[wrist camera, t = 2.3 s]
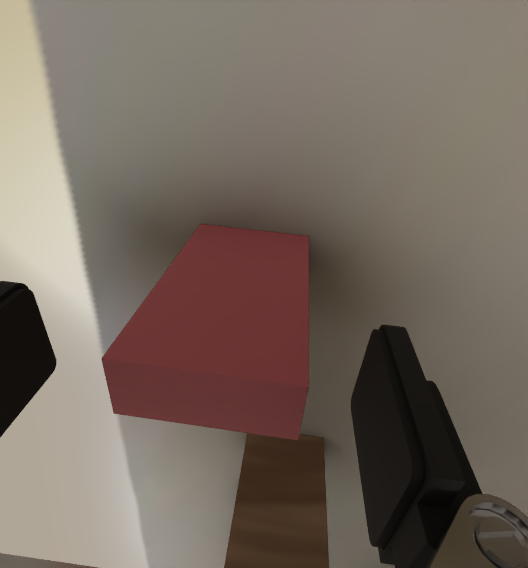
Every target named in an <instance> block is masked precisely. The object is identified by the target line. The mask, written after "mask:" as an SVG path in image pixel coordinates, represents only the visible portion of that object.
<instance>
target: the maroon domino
mask: <svg viewBox="0 0 528 568" xmlns="http://www.w3.org/2000/svg"><path fill="white" fill-rule="evenodd" d="M102 363H103V368H104V372H105V376H106V381H107V385H108V390H109V394H110V399H111V403H112V407H113V412H114V414H121V415H128V416H135V417H142V418H149V419H155V420H162V421H169V422H176V423H183V424H190V425H197V426H204V427H210V428H217V429H224V430H231V431H238V432H245V433H252V434H258V435H265V436H272V437H279V438H286V439H293V440H298V438H299V433H300V428H301V423H302V418H303V413H304V408H305V403H306V398H307V393H308V388H309V236H303V235H295V234H286V233H277V232H268V231H259V230H250V229H241V228H232V227H223V226H215V225H206V224H200V225H199V227H198V228H197V229H196V231H195V232H194V234H193V235H192V236H191V238H190V239H189V240H188V242H187V243H186V244H185V246H184V247H183V249H182V250H181V251H180V253H179V254H178V255H177V257H176V258H175V259H174V261H173V262H172V263H171V265H170V266H169V268H168V269H167V270H166V272H165V273H164V274H163V276H162V277H161V278H160V280H159V281H158V282H157V284H156V285H155V287H154V288H153V289H152V291H151V292H150V293H149V295H148V296H147V297H146V299H145V300H144V301H143V303H142V304H141V306H140V307H139V308H138V310H137V311H136V312H135V314H134V315H133V316H132V318H131V319H130V320H129V322H128V323H127V325H126V326H125V327H124V329H123V330H122V331H121V333H120V334H119V335H118V337H117V338H116V340H115V341H114V342H113V344H112V345H111V346H110V348H109V349H108V350H107V352H106V353H105V354H104V356H103V357H102Z"/></svg>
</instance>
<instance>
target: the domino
mask: <svg viewBox="0 0 528 568" xmlns="http://www.w3.org/2000/svg"><path fill="white" fill-rule="evenodd" d="M224 568H329V558H328V534H327V509H326V485H325V460H324V438H321V437H314V436H307V435H300V434H299V438H298V440H293V439H286V438H279V437H272V436H265V435H258V434H252V433H247V438H246V444H245V450H244V455H243V461H242V467H241V473H240V479H239V485H238V490H237V496H236V502H235V508H234V514H233V520H232V525H231V531H230V537H229V543H228V549H227V554H226V560H225V566H224Z"/></svg>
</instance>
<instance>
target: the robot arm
mask: <svg viewBox="0 0 528 568" xmlns="http://www.w3.org/2000/svg"><path fill="white" fill-rule="evenodd" d="M55 367H56V358H55V355H54V352H53V349H52V346H51V343H50V341H49V338H48V335H47V332H46V329H45V326H44V323H43V320H42V317H41V314H40V311H39V308H38V305H37V303H36V300H35V297H34V294H33V292H32V291H31V290H29V289H28V287H27V286H26V285H25V284H22V283H15V282H6V281H0V437H1V436H2V435H3V433H4V432H5V431H6V430H7V428H8V427H9V426H10V425H11V423H12V422H13V421H14V420H15V418H16V417H17V416H18V415H19V413H20V412H21V411H22V410H23V409H24V407H25V406H26V405H27V404H28V402H29V401H30V400H31V399H32V398H33V396H34V395H35V394H36V393H37V391H38V390H39V389H40V388H41V387H42V385H43V384H44V383H45V382H46V380H47V379H48V378H49V377H50V375H51V374H52V373H53V371H54V370H55ZM351 412H352V419H353V426H354V433H355V441H356V448H357V455H358V462H359V469H360V476H361V483H362V490H363V497H364V504H365V511H366V519H367V526H368V533H369V539H370V542H371V545H372V546H374V547H378V549H379V556H380V562H381V563H384V564H391V565H395V568H528V517H527V516H526V515H525V514H524V513H522V512H521V511H520V510H519V509H518V508H516V507H515V506H513V505H512V504H510V503H508V502H506V501H505V500H503V499H501V498H498V497H495V496H492V495H489V494H482V492H481V489H480V487H479V485H478V482H477V480H476V478H475V475H474V473H473V470H472V468H471V466H470V463H469V461H468V458H467V456H466V454H465V451H464V449H463V447H462V444H461V442H460V439H459V437H458V435H457V432H456V430H455V427H454V425H453V423H452V420H451V418H450V416H449V413H448V411H447V408H446V406H445V404H444V401H443V399H442V396H441V394H440V392H439V389H438V388H437V386H436V384H435V383H434V382H432V381H426V379H425V376H424V373H423V371H422V368H421V366H420V363H419V361H418V358H417V356H416V353H415V351H414V348H413V345H412V343H411V340H410V338H409V335H408V333H407V330H406V329H405V328H404V327H399V326H390V325H381V327H380V328H379V330H377V329H374V330H373V331H372V333H371V336H370V340H369V343H368V346H367V349H366V352H365V356H364V359H363V362H362V365H361V369H360V372H359V375H358V378H357V381H356V385H355V388H354V391H353V394H352V398H351ZM0 568H97V567H90V566H84V565H77V564H70V563H63V562H56V561H50V560H43V559H36V558H29V557H22V556H15V555H9V554H2V553H0Z"/></svg>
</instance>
